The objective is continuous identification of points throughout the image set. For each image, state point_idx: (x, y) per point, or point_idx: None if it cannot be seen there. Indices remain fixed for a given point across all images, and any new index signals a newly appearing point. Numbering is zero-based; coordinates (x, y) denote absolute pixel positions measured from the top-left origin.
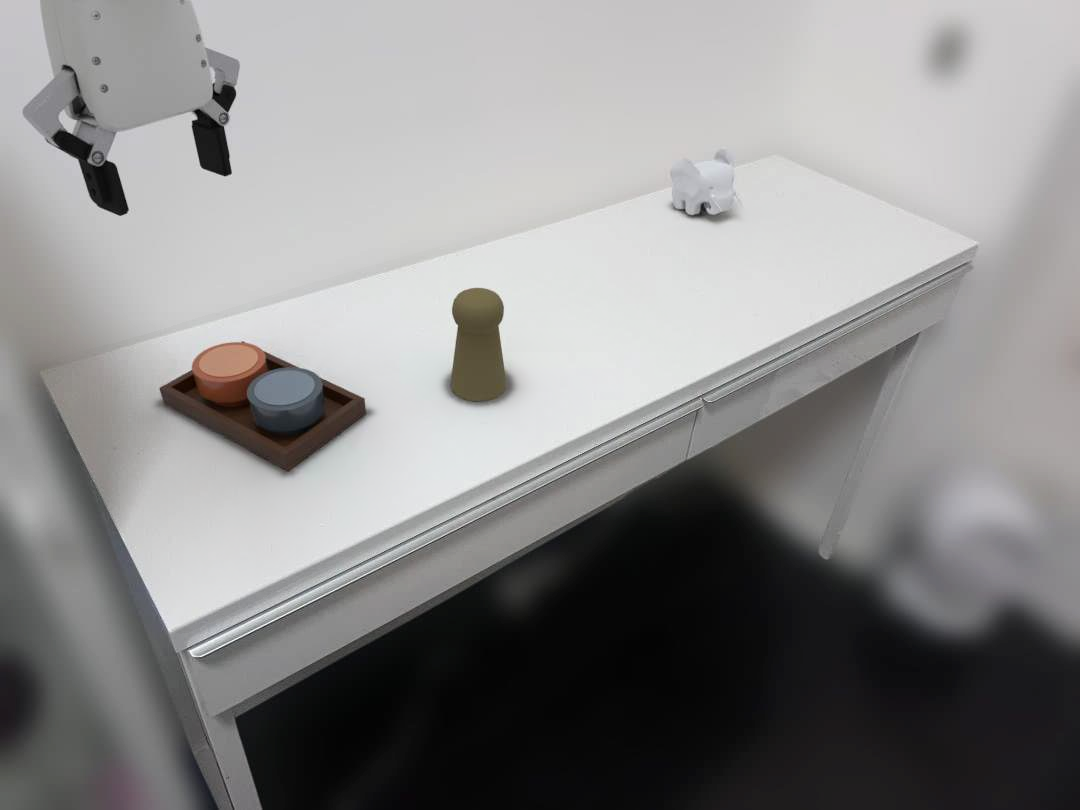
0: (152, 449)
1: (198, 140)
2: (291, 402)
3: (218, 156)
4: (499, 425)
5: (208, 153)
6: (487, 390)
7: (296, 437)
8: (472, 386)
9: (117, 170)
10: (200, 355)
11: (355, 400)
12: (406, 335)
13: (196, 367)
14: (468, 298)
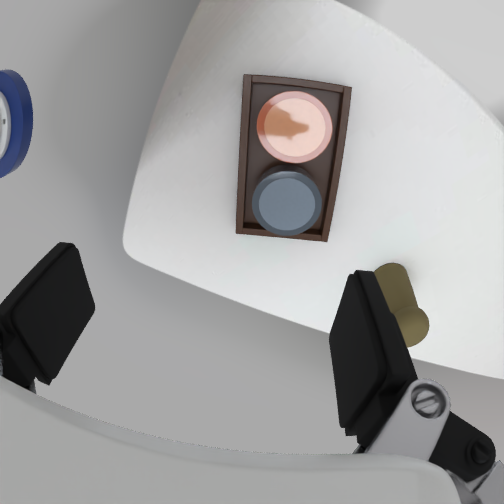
0: (196, 119)
1: (362, 344)
2: (271, 224)
3: (335, 369)
4: None
5: (347, 341)
6: None
7: None
8: None
9: (59, 370)
10: (287, 94)
11: (321, 237)
12: (433, 202)
13: (267, 107)
14: (406, 336)
